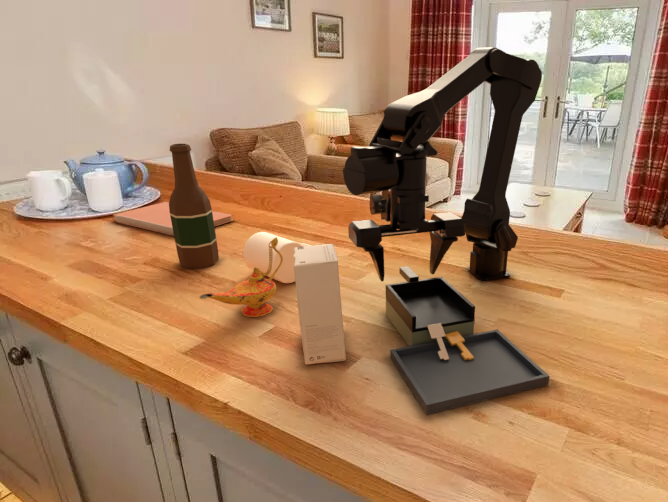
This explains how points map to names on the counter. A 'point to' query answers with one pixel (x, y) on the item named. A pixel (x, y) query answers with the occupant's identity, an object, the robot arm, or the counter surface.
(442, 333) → the steel key
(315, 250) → the cosmetic box
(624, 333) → the counter surface
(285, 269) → the mug
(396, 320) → the stand
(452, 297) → the dish
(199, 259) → the beer bottle
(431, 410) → the tray
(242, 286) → the magic lamp
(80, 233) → the counter surface
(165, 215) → the notebook
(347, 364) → the counter surface
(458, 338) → the brass key
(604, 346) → the counter surface
